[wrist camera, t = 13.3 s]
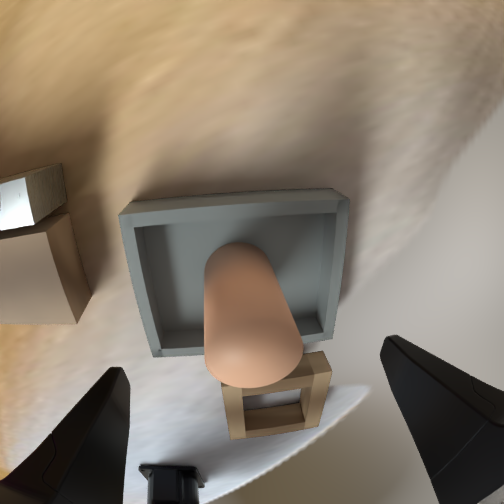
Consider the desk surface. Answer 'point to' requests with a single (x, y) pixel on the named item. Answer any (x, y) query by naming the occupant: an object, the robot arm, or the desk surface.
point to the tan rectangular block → (42, 274)
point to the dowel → (247, 319)
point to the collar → (287, 416)
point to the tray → (225, 232)
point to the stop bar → (31, 196)
